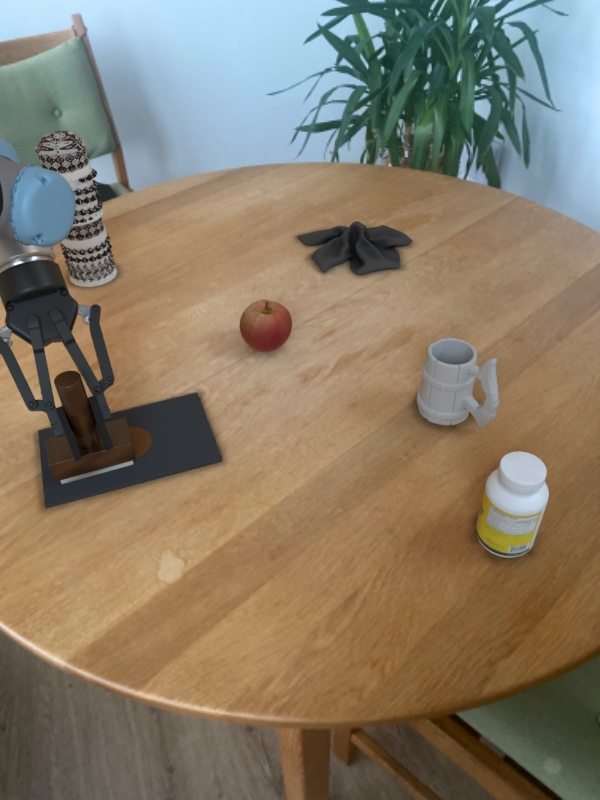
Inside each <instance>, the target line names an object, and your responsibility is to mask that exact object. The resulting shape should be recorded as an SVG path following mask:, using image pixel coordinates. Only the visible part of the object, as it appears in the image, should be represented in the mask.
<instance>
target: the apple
mask: <svg viewBox="0 0 600 800" xmlns="http://www.w3.org/2000/svg"><path fill="white" fill-rule="evenodd" d="M292 328H293V318H292V316H291V313H290V311H289V310H288V309H287V308H286V307H285V306H284V305H283V304H281V303H279V302H277V301H273V300H270V299H259V300H256V301H253V302H252V303H251V304H250V305H248V306H247V307H246V308H245V309H244V311H243V312H242V314H241V315H240V320H239V331H240V334H241V337H242V339H243V340H244V342H245V343H246V344H247V345H248V347H250V348H251V349H253V350H255V351H257V352H263V353H265V352H272V351H275V350H278V349H279V348H281V347H282V346H283V345H284V344H285V343H286V342H287V341H288V339H289V337H290V335H291V332H292Z"/></svg>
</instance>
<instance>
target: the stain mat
mask: <svg viewBox="0 0 600 800" xmlns="http://www.w3.org/2000/svg"><path fill="white" fill-rule="evenodd" d="M121 418H126V421H127V425H128V428H129V432H130V436H131V439H132V443H133V447H134V451H135V455H136V460H133V463H134V464H133V465H129V466H126V467H122V468H119V469H115V470H112V471H108V472H104V473H101V474H97V475H94V476H90V477H86V478H83V479H79V480H76V481H72V482H68V483H65V484H61V482H60V481H57V482H55V479H54V477H53V475H52V472H51V470H50V467H49V463H48V455H47V447H46V439H45V438H48V437H52V436H56V435H55V434H54V432H53V429H52V427H51V426H50V427H47V428H42V429H39V430H37V434H38V435H37V437H38V445H39V454H40V455H39V457H40V458H39V459H40V468H41V479H42V490H43V501H44V507H45V509H50V508H53V507H58V506H61V505H64V504H68V503H71V502H77V501H79V500H83V499H88V498H90V497H94V496H98V495H101V494H106V493H109V492H113V491H117V490H120V489H124V488H127V487H132V486H135V485H138V484H142V483H143V484H144V483H146V482H150V481H155V480H159V479H161V478H166V477H169V476H172V475H176V474H180V473H184V472H188V471H191V470H195V469H199V468H202V467H207V466H210V465H214V464H217V463H221V462H223V457H222V455H221V452H220V450H219V447H218V444H217V442H216V439H215V436H214V433H213V431H212V427H211V426H210V423H209V420H208V417H207V415H206V412H205V410H204V407H203V404H202V402H201V399H200V396H199V393H198V392H193V393H189V394H188V393H187V394H184V395H181V396H176V397H172V398H167V399H164V400H163V399H162V400H160V401H155V402H150V403H147V404H143V405H139V406H134V407H131V408H130V407H129V408H126V409H122V410H118V411H114V412H111V419H110V420H107V421H104V423H106V422H110V421H113V420H117V419H121ZM96 425H97V424H96Z"/></svg>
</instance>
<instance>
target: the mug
mask: <svg viewBox="0 0 600 800" xmlns="http://www.w3.org/2000/svg"><path fill="white" fill-rule="evenodd" d="M477 362H478V352H477V349H476V348H475V346H474V345H473V344H472V343H470V342H468V341H466V340H463V339H461V338H457V337H442V338H439V339H437V340H436V341H433V342H432V343H430V344H429V346H428V347H427V350H426V356H425V360H424V362H423V364H422V369H421V377H422V379H421V383H420V384H421V385H420V387H419V388H418V390H417V393H416V404H417V409H418V412H419V415H420V416H422V417H423V418H424V419H426V420H427V421H428V422H430V423H432V424H436V425H441V426H447V427H448V426H455V425H458V424H461V423H463V422H464V421H465V420H466V419H467V418H469V415H470V414H471V415H472V417H473V418H474V420H475V423H476V424H477V425H478V427H479V428H484V427H485V426H486V425H488V424H489V423H491V422H492V421H493V420H494V419H495V417H496V415H497V412H498V408H499V405H500V398H499V395H500V393H499V385H498V376H497V375H498V374H497V362H498V358H496V357H494V358H493V357H492V358H490V359H487V360H486V361H485V362H483V363H482V364H481V366H478V365H477ZM477 379H478V380H479V383H480V385H481V389H482V392H483V393H484V395H485V397H484V401H483V404H479V402H478V401H477V400H476V399H475V398H474V394H473V390H474V384H475V382H476V380H477Z"/></svg>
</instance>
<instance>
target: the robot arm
mask: <svg viewBox="0 0 600 800" xmlns="http://www.w3.org/2000/svg"><path fill="white" fill-rule="evenodd" d="M75 208H76V203H75V197H74V193H73V190H72V188H71V186H70V184H69V183H68V182H67V180H66V179H65V178H64V177H63V176H62V175H60V174H59V173H57V172H55V171H52V170H48V169H45V168H41V165H37V164H32V163H22V162H21V161H20V159H19V156H18V154H17V152H16V149H15V148H14V147H13V146H12V145H11V143H10V142H8V141H7V140H5V139H3V138H0V300H1V303H2V306H3V308H4V311H5V318H4V324H5V325H4V326H2V327H1V328H0V355H1V356H2V358H3V360H4V362H5V365H6V367H7V369H8V371H9V373H10V375H11V377H12V379H13V382H14V385H15V386H16V388H17V390H18V392H19V394H20V397H21V398H22V400H23V403H24V404H25V408H26V409H27V410H28V411H29V412H43V413H45V414H46V416H47V418H48V419H47V420H48V421H49V424H50V428H51V427H52V429H53V432H54V434H55V435H56V436H57V437H60V436H63V435H66V437H67V440H68V443H69V445H70V448H71V451H72V453H73V456H74V459H75V462H76V461H78V460H81V459H82V458H81V455H80V452H79V450H78V447H77V444H76V442H75V439H74V436H73V433H72V431H71V428H70V425H69V423H68V420H67V417H66V415H65V412H64V409H63V406H62V405H61V406H58V407H57V406H56V403H55V402H56V401H55V397H54V392H53V387H52V381H51V377H50V371H49V367H48V361H47V356H46V349H45V348H46V347H48V346H49V345H51V344H54V343H55V344H56V343H62V345H63V346H64V348H65V349H66V351H67V353H68V355H69V356H70V358H71V360H72V362H73V363H74V365H75V367H76V368H77V371H78V373H79V374H80V375H81V378H82V380H83V382H84V383H85V385H86V386H87V389H88V390H89V392H90V394H91V396H89V397H88V396H87V397H88V400H89V403H90V406H91V409H92V412H93V415H94V419H95V422H96V424H97V427H98V430H99V432H100V435H101V438H102V441H103V443H104V446H105V449H106V450H109V449H112V448H113V445H112V442H111V440H110V437H109V434H108V432H107V429H106V426H105V424H104V421H107V420H110V419H111V413H112V412H111V409H110V407H109V404H108V402H107V399H106V396H105V392H106V391H107V390H108V389H110V387H113V385H114V383H115V380H116V379H115V378H116V377H115V374H114V371H113V367H112V362H111V360H110V355H109V352H108V348H107V345H106V341H105V338H104V334H103V331H102V327H101V313H102V308H101V305H99V304H97V303H93V304H92V305H85V304H79V303H78V301H77V300H76V299H75V298H74V297H73V296H72V295H71V293H70V292H69V288H68V286H67V283H66V281H65V278H64V276H63V272H62V270H61V267H60V264H58V263H57V262H55V260H56V253H55V251H54V248H53V247H54V246H56V245H58V244H61V243H62V242H61V241H63V240H64V239H65V238H66V236H67V235H68V234H69V232H70V230H71V228H72V226H73V223H74V220H75V217H74V215H75ZM78 315H79V316H81V318H82V322H83V323H84V324H86V325H88V326H89V334H90V338H91V341H92V346H93V348H94V349H93V350H94V353H95V356H96V359H97V364H98V366H99V367H98V368H99V370H100V374H101V379H99V380H98V378H97V376H96V375H95V373H94V371H93V369H92V367H91V365H90V364H89V361H88V360H87V358H86V357H85V355H84V353H83V351H82V350H81V348H80V346H79V345H78V343H77V341H76V339H75V336H74V334H73V330H74V327H75V323H76V320H77V318H78ZM12 335H15V336H17V337H18V338H19V339H21V340H23V341H24V342H26V343H27V344H28V345H30V346H31V347H32V352H33V357H34V364H35V367H36V373H37V377H38V383H39V388H40V393H41V394H40V395H41V399H36V398H35V396H34V393H33V391H32V390H31V386H30V385H29V383H28V381H27V378H26V377H25V374H24V372H23V371H22V370H23V369H22V368H21V367H20V364H19V362H18V360H17V358H16V356H15V354H14V352H13V349H12V348H11V347H12V346H13V345H14V343H13V342H14V341H13V339H12Z"/></svg>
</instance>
